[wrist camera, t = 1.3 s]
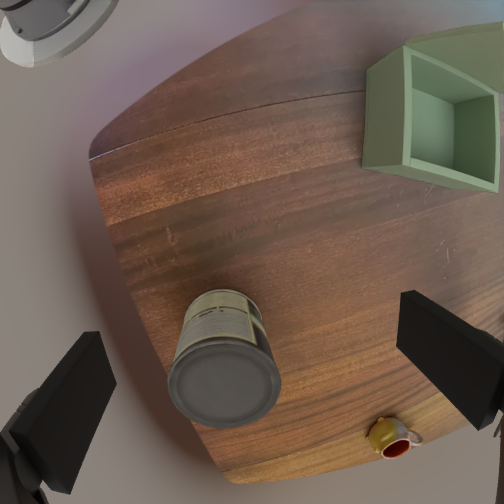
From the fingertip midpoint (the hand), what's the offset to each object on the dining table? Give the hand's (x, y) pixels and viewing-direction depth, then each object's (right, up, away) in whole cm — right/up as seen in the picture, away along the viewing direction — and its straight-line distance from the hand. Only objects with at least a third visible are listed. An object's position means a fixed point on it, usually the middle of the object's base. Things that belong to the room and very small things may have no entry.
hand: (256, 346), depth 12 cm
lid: (+24, +22, +6) cm, 33 cm away
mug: (+26, -30, +35) cm, 53 cm away
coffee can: (-4, -6, +28) cm, 28 cm away
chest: (+22, +21, +24) cm, 39 cm away
